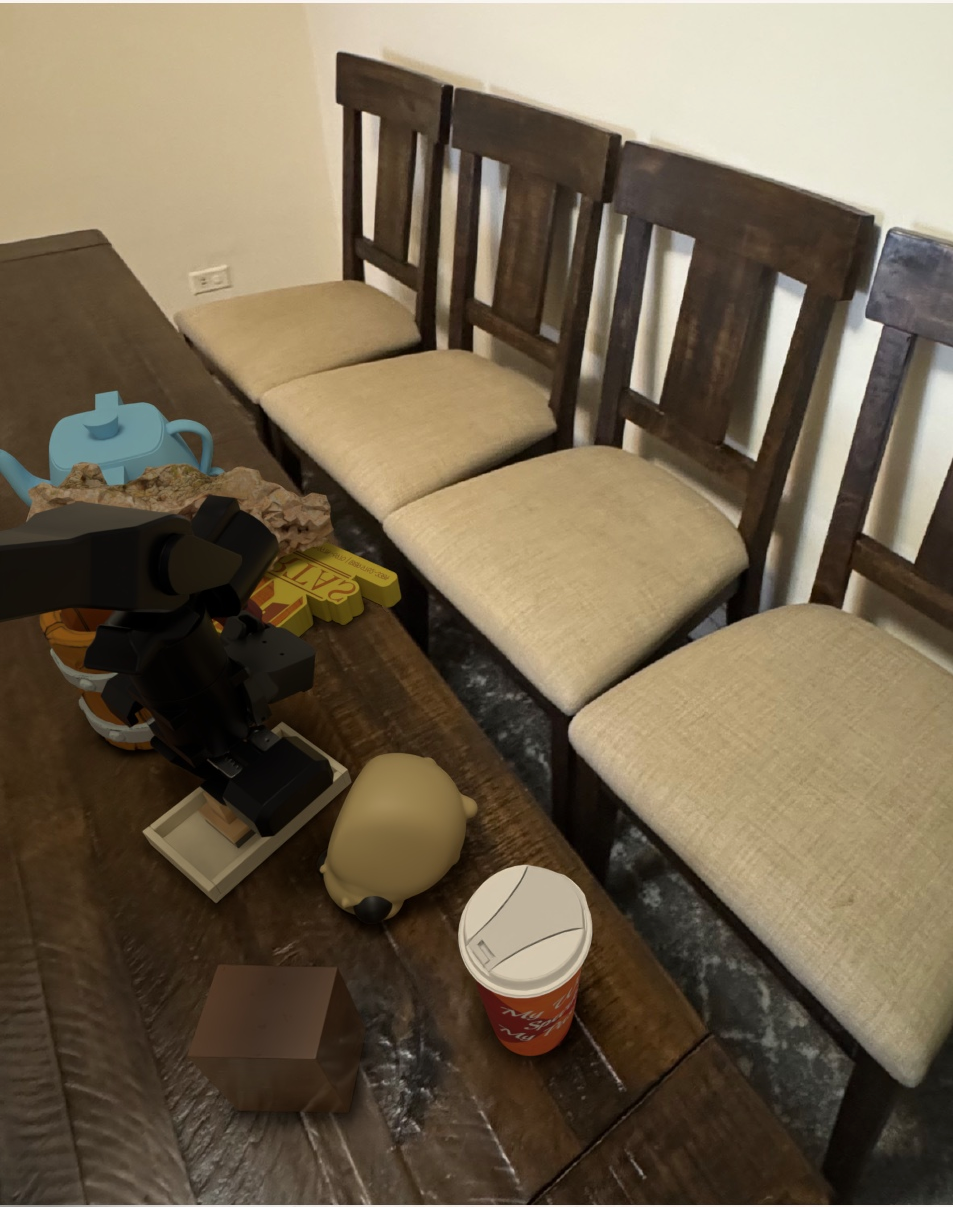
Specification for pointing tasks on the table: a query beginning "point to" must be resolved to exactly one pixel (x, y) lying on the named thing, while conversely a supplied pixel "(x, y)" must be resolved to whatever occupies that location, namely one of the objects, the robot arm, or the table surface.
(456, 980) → the table surface
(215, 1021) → the brown block
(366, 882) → the tan animal figurine
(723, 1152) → the table surface
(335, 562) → the decorative sign
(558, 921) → the paper cup
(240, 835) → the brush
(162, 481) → the rock
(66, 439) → the teapot
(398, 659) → the table surface
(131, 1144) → the table surface
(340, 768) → the tray
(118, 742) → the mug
